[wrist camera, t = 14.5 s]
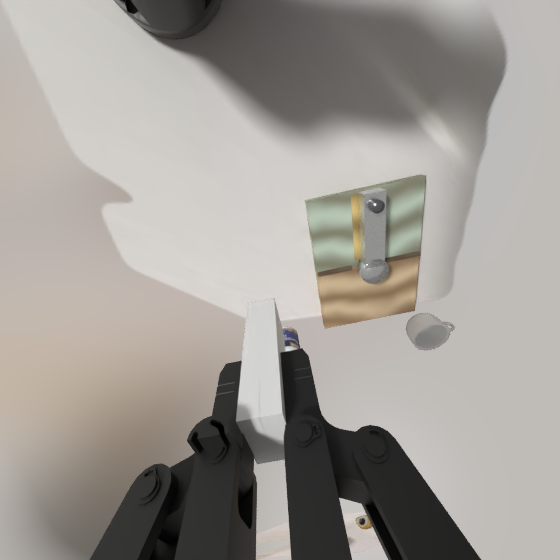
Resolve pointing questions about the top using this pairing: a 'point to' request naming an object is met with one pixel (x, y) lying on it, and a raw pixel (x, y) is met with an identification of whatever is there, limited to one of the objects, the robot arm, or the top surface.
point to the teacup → (427, 331)
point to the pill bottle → (290, 339)
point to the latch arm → (372, 235)
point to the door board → (346, 253)
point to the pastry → (364, 522)
